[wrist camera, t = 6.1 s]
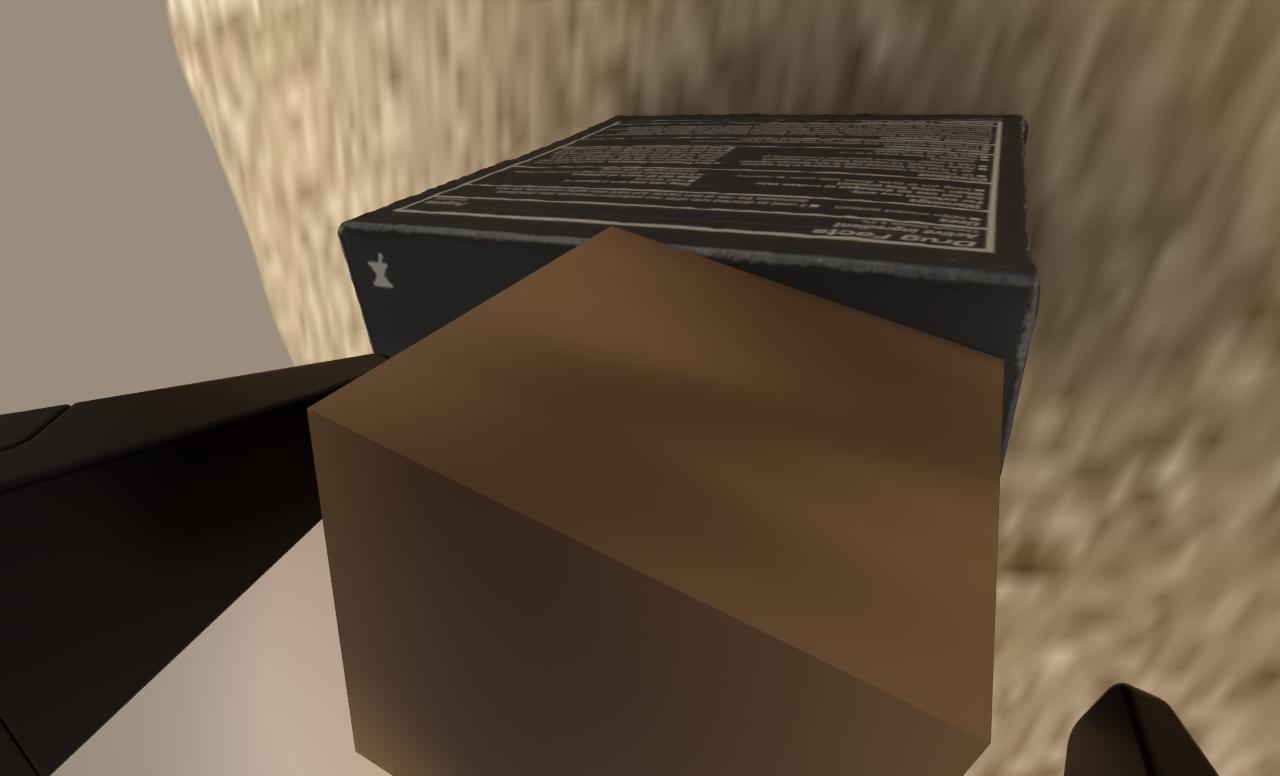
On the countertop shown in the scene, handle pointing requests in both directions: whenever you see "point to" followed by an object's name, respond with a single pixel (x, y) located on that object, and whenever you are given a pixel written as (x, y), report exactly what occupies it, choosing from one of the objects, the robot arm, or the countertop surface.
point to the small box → (736, 221)
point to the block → (665, 532)
